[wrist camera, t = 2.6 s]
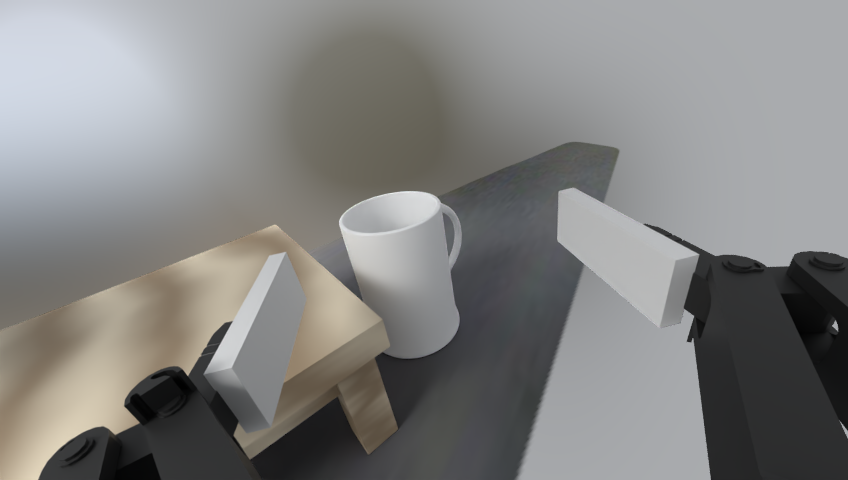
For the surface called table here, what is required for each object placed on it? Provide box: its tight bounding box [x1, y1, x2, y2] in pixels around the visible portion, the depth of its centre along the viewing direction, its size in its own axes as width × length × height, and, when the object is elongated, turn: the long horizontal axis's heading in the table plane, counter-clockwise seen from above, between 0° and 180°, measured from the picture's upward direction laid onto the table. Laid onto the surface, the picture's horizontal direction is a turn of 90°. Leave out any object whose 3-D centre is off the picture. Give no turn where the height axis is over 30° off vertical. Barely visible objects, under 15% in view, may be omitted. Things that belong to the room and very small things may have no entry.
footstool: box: [0, 225, 398, 480], centre depth 22 cm, size 20×20×10 cm
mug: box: [339, 191, 462, 359], centre depth 29 cm, size 12×8×12 cm
